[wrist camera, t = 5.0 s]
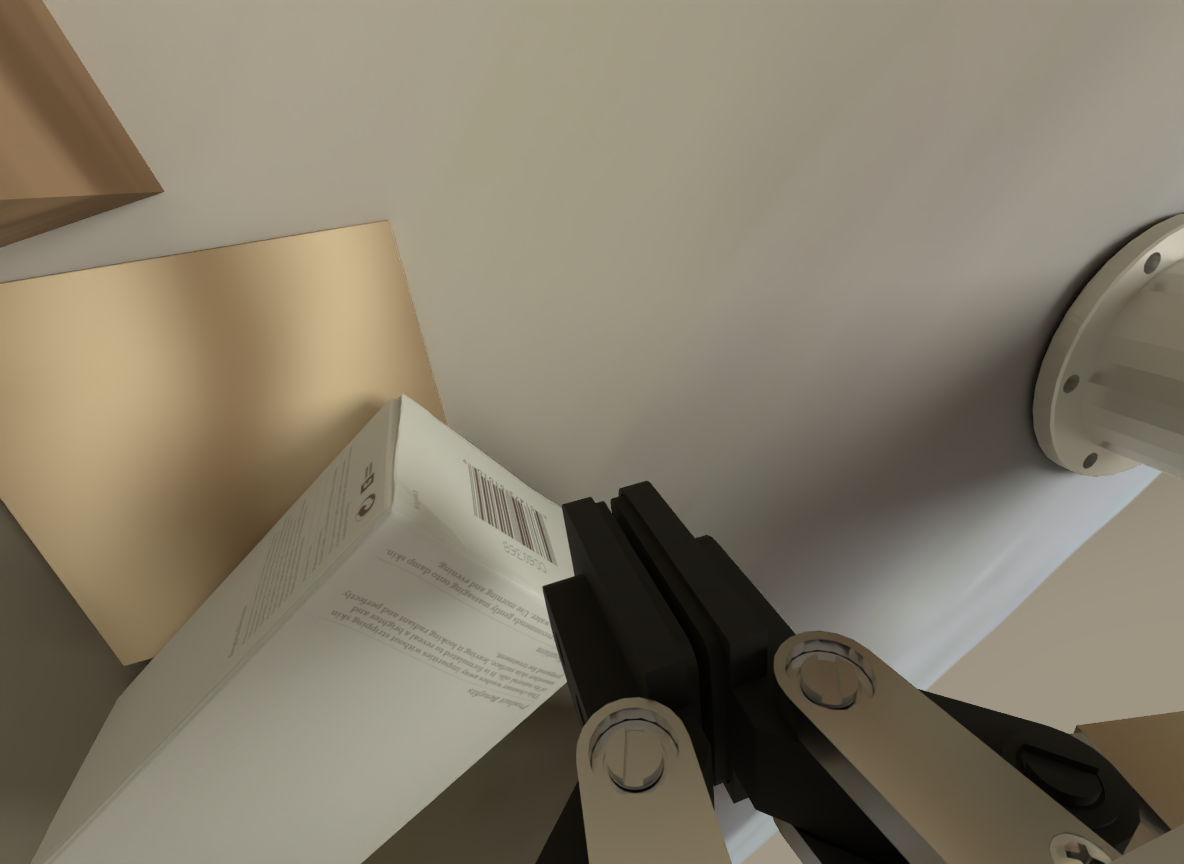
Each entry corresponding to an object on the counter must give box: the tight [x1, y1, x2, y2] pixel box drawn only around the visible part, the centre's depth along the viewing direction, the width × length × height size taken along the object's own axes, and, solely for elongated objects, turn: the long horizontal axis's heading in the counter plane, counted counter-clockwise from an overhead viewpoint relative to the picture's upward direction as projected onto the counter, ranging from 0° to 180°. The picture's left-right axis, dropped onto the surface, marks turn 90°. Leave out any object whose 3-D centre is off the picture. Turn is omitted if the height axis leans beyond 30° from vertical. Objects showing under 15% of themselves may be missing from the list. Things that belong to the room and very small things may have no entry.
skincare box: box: [30, 394, 574, 864], centre depth 17 cm, size 8×6×15 cm
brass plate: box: [0, 220, 447, 666], centre depth 17 cm, size 12×12×1 cm
